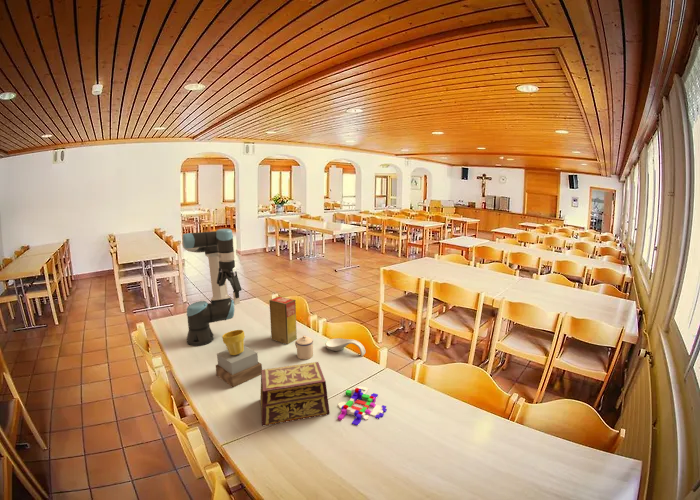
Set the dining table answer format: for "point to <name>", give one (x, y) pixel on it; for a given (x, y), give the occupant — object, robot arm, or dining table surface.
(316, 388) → the decorative box
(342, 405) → the building block set
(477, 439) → the dining table surface
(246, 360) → the grey top block
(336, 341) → the spoon rest
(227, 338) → the plant pot
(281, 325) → the food packaging
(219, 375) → the walnut base block
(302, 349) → the teacup with lid
